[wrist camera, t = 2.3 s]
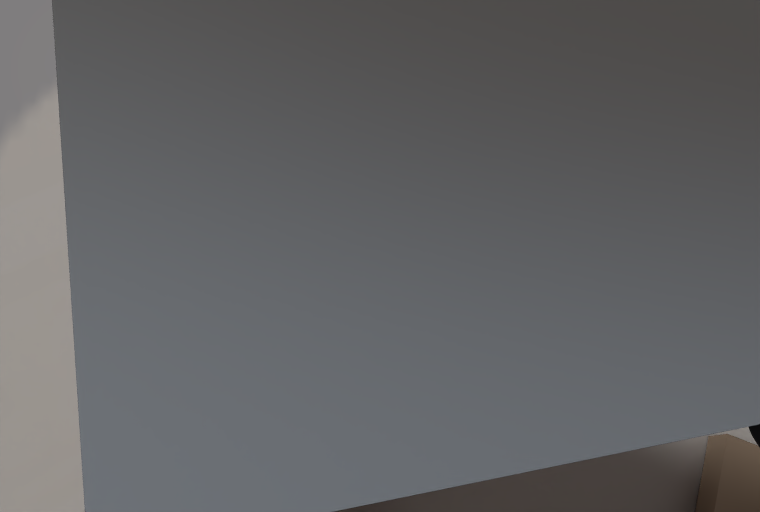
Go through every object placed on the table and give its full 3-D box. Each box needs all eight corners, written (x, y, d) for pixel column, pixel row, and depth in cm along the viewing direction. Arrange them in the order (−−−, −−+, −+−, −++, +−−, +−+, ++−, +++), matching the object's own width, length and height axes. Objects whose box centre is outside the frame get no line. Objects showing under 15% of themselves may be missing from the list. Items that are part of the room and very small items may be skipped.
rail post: (409, 466, 17) (1000, 374, 3) (240, 499, 16) (86, 563, 2) (378, 305, 18) (724, -265, 4) (219, 329, 17) (33, -276, 4)
